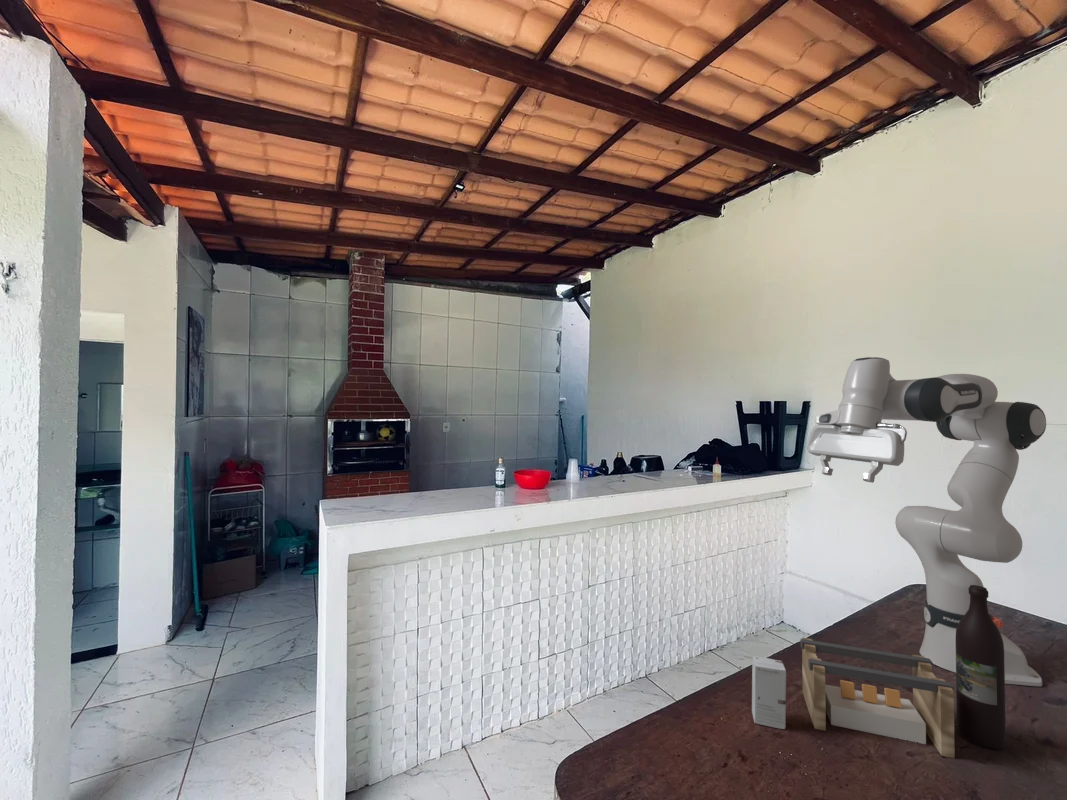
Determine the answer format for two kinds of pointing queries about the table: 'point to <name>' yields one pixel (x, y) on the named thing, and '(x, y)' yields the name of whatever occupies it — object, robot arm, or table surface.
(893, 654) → the long charcoal square rod
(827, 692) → the breaker strip
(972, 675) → the wine bottle
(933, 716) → the rack
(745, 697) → the table surface
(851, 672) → the grey bar
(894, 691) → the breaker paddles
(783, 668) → the skincare box
